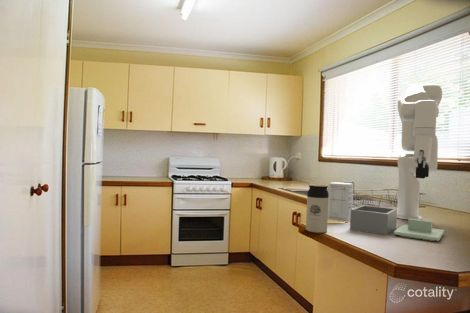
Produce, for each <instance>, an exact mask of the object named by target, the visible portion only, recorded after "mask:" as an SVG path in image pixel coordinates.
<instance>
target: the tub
mask: <svg viewBox="0 0 470 313" xmlns="http://www.w3.org/2000/svg"><path fill="white" fill-rule="evenodd" d="M349 221H350V222H349V223H350V224H349V230H350V231H351V230H352V231H357V230H360V231H359V232H364V231H365V233H370V232H371V233H372V234H377V233H378V234H379V235H385V236H388V235H389V234H391V233H392V232H394V231H395V230H396V229H397V222H398V218H397V208H390V207H381V206H374V205H373V206H372V205H364V204H363V205H360V206H357V207H354V208H353V209H351V217H350V220H349Z"/></svg>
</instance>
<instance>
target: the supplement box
mask: <svg viewBox="0 0 470 313" xmlns="http://www.w3.org/2000/svg"><path fill="white" fill-rule="evenodd" d="M327 191H328V193H329V198H328V220H331V221H338V222H339V221H341V222H349V221H350V217H351V209H354V208H353V200H354V182H353V183H352V182H338V181H337V182H336V181H334V182H333V181H332V182H329V183H328V189H327Z"/></svg>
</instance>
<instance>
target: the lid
mask: <svg viewBox="0 0 470 313" xmlns="http://www.w3.org/2000/svg"><path fill="white" fill-rule="evenodd" d="M444 233H445V230H444V229H439V228H433V221H432V220H424V219H421V220H417V219H408V220H407V224H402V225H400V226H399V227H398V228H396V229H394V230H393V235H398V236H400V237H403V238H409V239H414V240H415V239H417V240H421V239H422V240H423V241H428V240H429V241H430V242H434V241H437V242H439V241H440V239H442V236H444ZM429 241H428V242H429Z"/></svg>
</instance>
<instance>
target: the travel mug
mask: <svg viewBox="0 0 470 313" xmlns="http://www.w3.org/2000/svg"><path fill="white" fill-rule="evenodd" d="M308 188H309V189H308V191H307V194H306V196H307V198H306V219H305V231H308V232H310V233H316V234H322V233H323V234H324V233H326V232H328V220H329V219H328V198H329V193H328V188H329V184H326V183H314V182H313V183H308Z"/></svg>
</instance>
